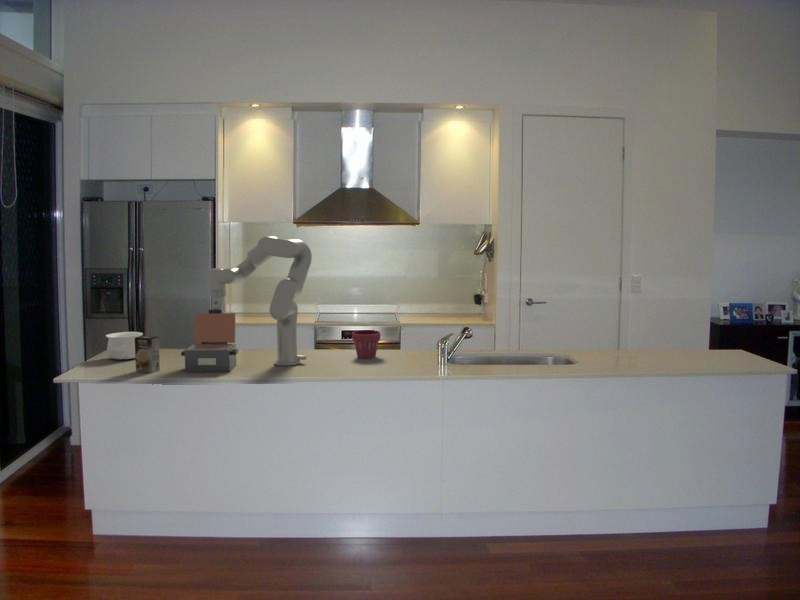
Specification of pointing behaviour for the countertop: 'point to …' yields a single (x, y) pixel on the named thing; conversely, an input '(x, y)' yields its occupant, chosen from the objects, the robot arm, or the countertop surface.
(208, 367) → the cooker base
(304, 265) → the robot arm
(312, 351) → the countertop surface
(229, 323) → the lid
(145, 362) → the coffee box
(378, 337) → the plant pot
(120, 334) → the pot
